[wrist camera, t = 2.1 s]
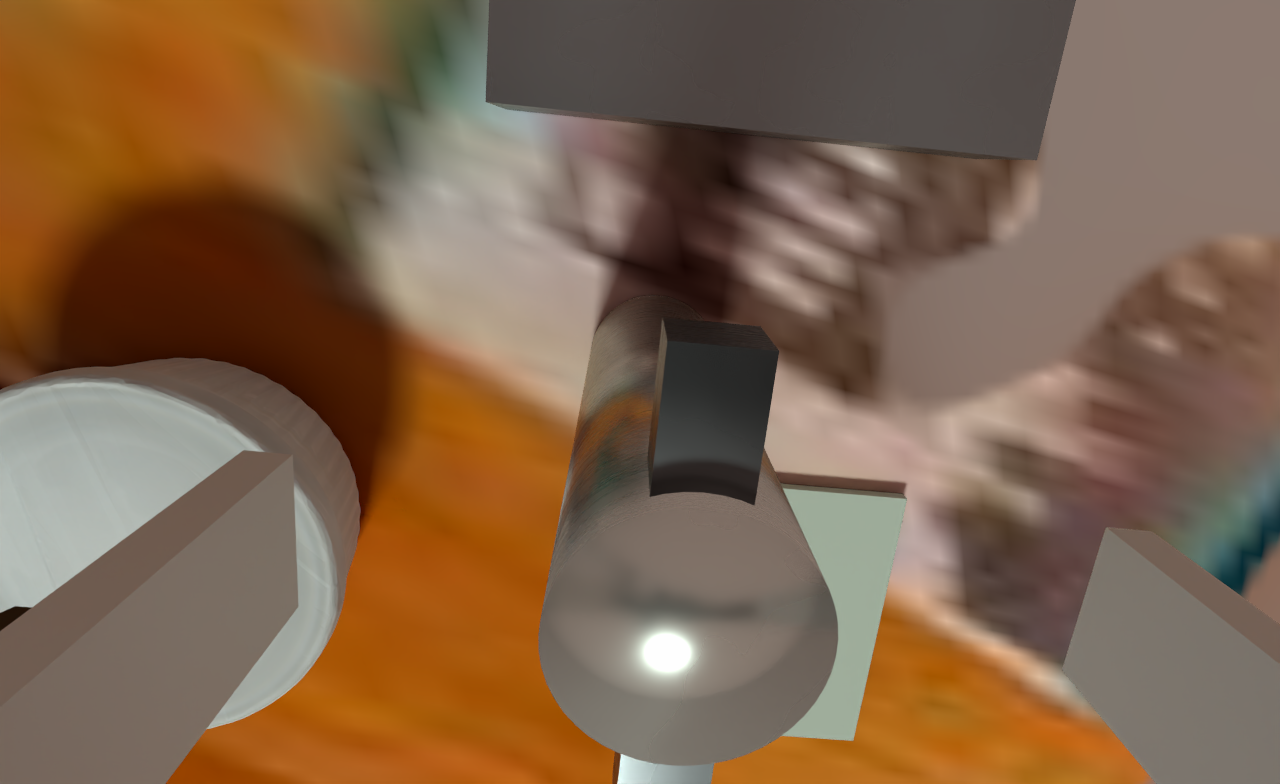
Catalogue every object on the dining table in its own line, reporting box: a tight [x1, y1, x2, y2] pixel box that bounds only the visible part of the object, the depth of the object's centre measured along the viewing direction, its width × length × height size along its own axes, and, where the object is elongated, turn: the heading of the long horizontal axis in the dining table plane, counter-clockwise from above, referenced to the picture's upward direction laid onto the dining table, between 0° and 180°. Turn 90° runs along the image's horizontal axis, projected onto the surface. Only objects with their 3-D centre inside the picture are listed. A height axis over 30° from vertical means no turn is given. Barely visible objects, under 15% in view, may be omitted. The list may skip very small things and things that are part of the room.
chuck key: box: [539, 295, 838, 784], centre depth 17 cm, size 4×8×15 cm, turn 174°
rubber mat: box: [780, 483, 907, 741], centre depth 27 cm, size 10×10×1 cm
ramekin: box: [0, 358, 361, 729], centre depth 23 cm, size 11×11×5 cm
